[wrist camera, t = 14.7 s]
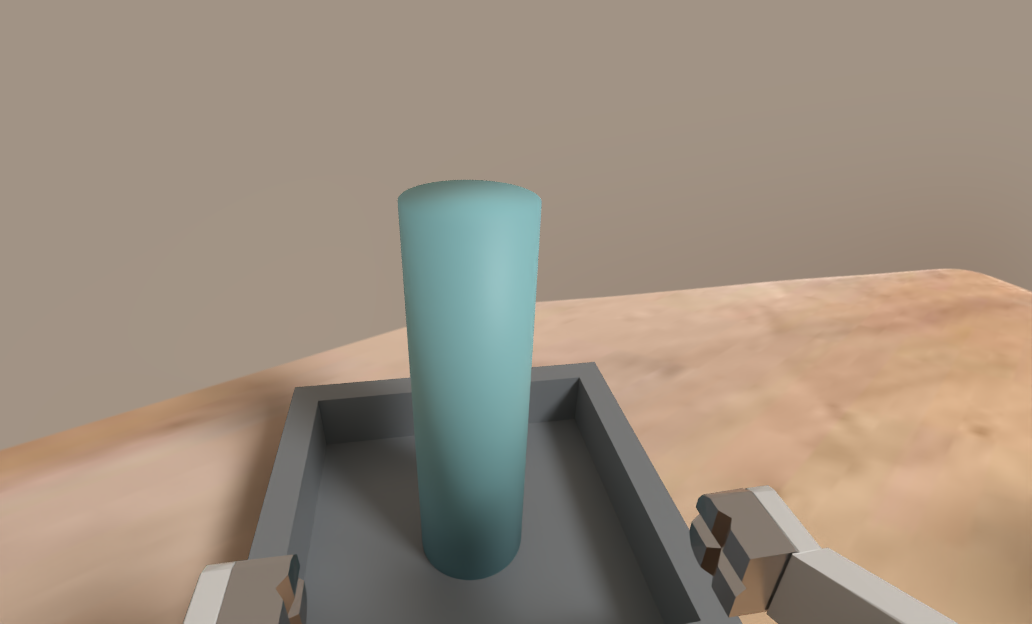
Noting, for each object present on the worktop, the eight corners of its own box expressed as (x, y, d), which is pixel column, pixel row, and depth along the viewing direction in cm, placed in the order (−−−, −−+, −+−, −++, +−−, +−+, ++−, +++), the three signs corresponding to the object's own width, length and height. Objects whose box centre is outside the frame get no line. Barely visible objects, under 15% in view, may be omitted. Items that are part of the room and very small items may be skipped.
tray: (224, 829, 14) (190, 769, 13) (306, 442, 27) (295, 387, 25) (731, 716, 17) (759, 654, 15) (587, 413, 30) (594, 362, 28)
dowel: (424, 587, 20) (397, 224, 13) (420, 502, 23) (397, 181, 16) (530, 571, 20) (557, 220, 14) (511, 491, 24) (525, 179, 17)
